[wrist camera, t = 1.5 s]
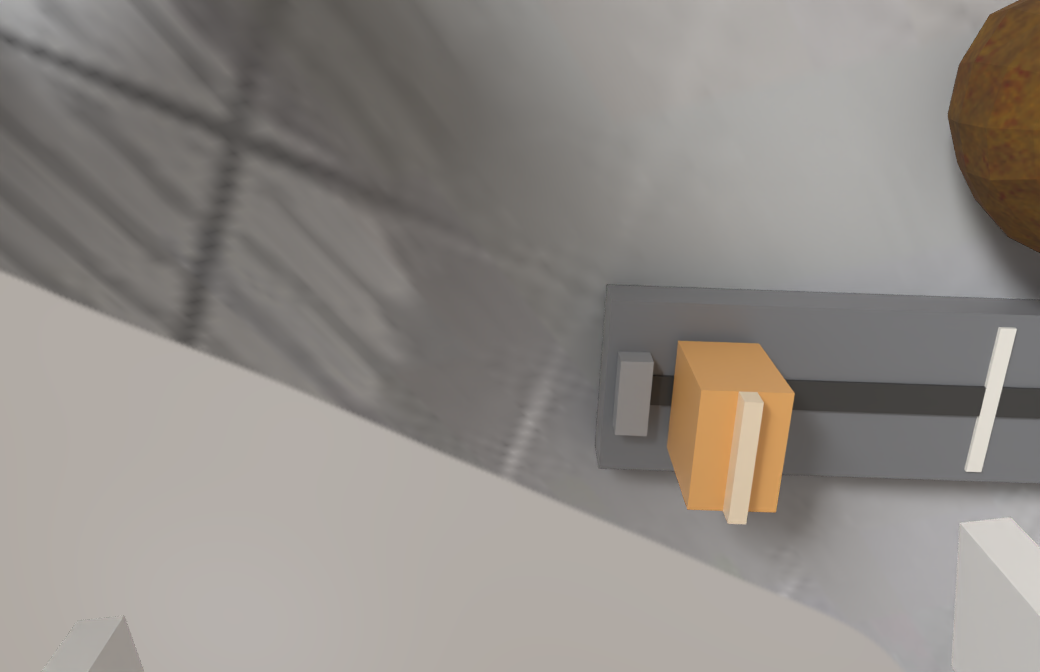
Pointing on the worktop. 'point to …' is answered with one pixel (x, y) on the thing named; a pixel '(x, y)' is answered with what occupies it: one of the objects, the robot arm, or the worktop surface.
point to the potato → (1002, 120)
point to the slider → (728, 427)
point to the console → (840, 378)
